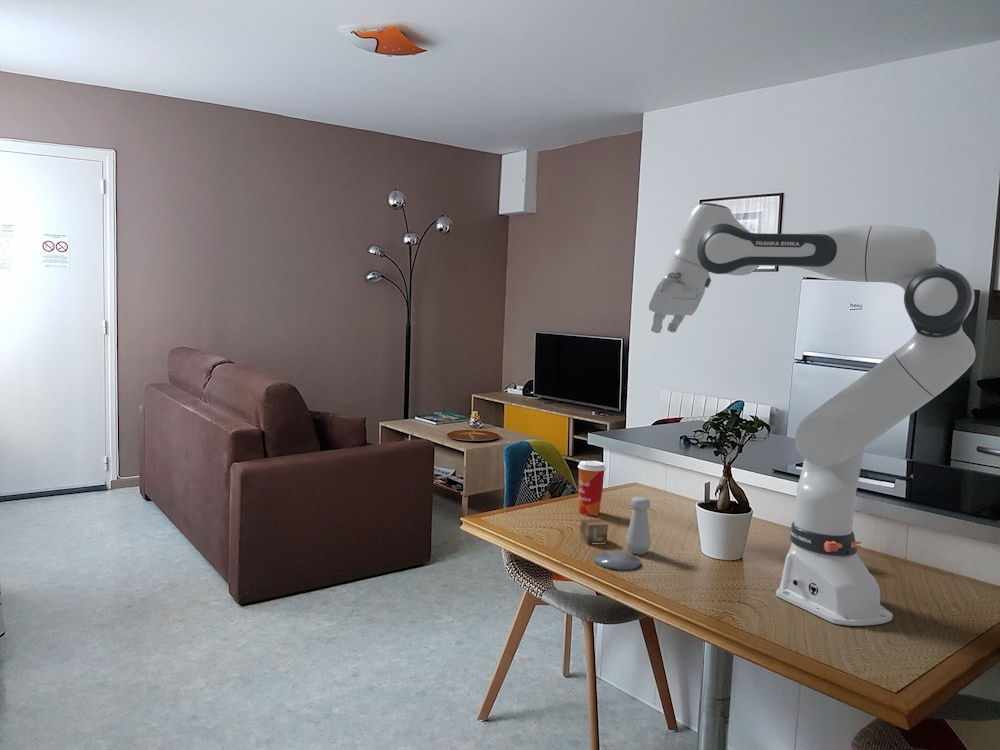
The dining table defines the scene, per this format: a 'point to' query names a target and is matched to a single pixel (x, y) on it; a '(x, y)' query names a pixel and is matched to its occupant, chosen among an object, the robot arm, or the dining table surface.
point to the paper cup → (590, 486)
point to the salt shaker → (639, 527)
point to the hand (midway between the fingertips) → (663, 331)
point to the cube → (593, 530)
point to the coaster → (617, 560)
